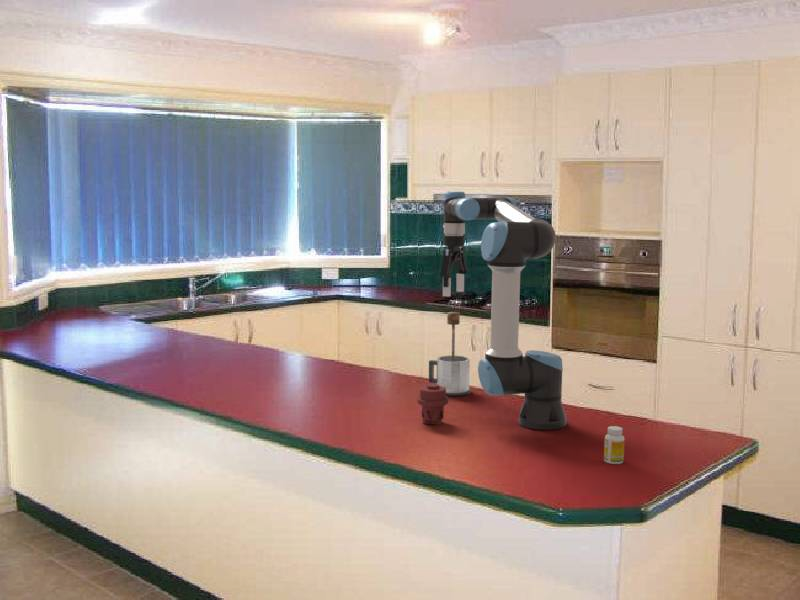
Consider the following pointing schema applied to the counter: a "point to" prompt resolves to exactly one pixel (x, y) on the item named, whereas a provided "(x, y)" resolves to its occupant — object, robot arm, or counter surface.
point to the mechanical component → (432, 403)
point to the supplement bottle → (614, 445)
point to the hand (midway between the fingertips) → (453, 293)
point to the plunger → (453, 327)
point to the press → (451, 374)
